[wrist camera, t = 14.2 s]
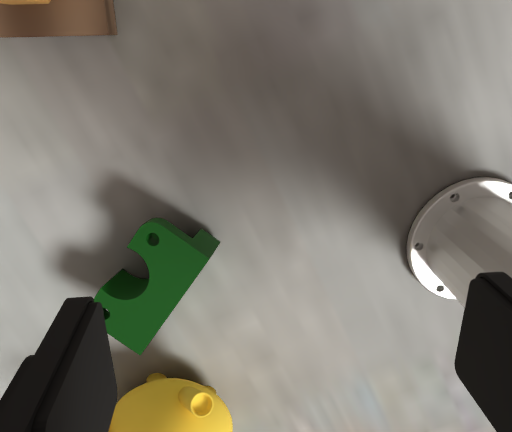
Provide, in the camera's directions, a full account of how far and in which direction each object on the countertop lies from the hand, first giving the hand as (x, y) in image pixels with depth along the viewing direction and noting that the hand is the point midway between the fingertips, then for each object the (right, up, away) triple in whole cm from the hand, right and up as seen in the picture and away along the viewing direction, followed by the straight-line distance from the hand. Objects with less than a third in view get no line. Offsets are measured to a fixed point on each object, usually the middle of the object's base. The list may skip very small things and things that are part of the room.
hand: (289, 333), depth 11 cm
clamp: (-10, -1, +31) cm, 32 cm away
